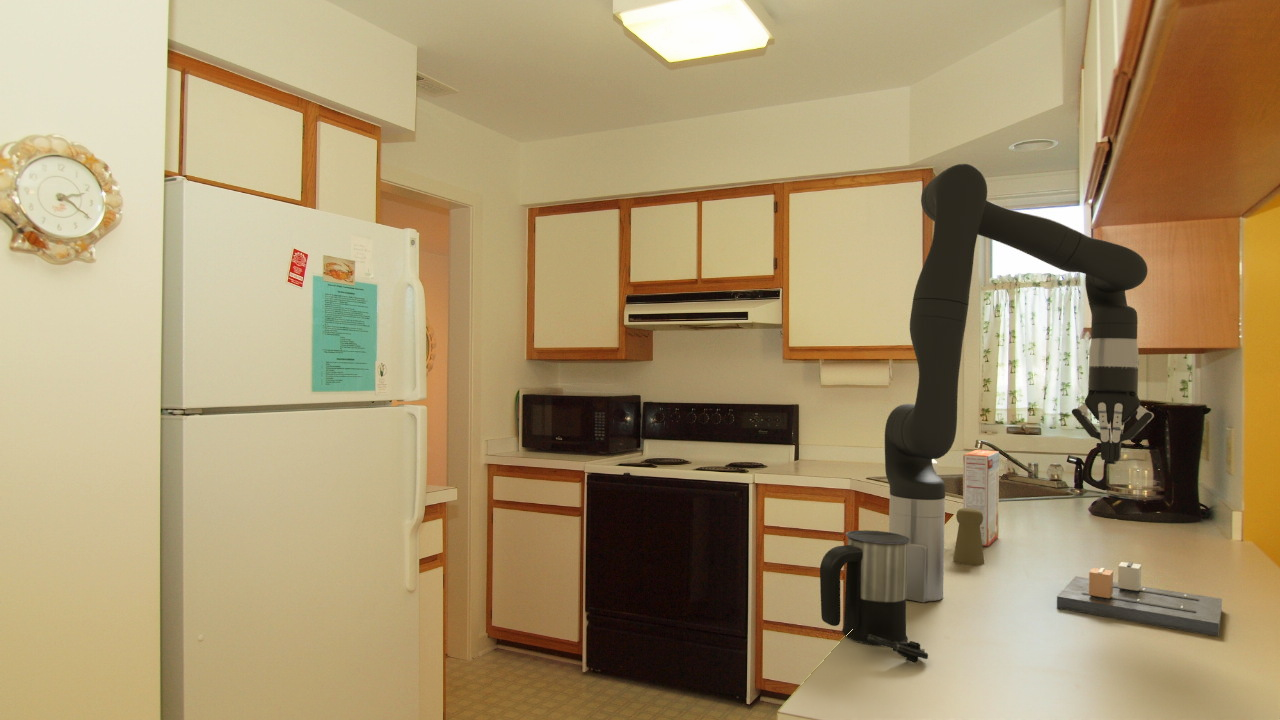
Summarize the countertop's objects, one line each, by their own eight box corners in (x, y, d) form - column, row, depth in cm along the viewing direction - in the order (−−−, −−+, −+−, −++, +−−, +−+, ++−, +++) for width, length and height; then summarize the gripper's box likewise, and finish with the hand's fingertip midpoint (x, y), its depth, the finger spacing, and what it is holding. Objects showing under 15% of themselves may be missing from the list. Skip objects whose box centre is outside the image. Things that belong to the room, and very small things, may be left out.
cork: (987, 565, 165) (988, 511, 166) (956, 563, 167) (957, 510, 167) (981, 559, 171) (982, 507, 171) (950, 557, 172) (951, 505, 173)
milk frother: (866, 623, 125) (868, 526, 125) (964, 652, 113) (966, 545, 113) (808, 641, 116) (810, 537, 116) (907, 674, 104) (910, 558, 104)
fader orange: (1109, 598, 134) (1109, 573, 134) (1088, 594, 135) (1089, 570, 135) (1112, 593, 137) (1113, 569, 137) (1092, 590, 139) (1093, 566, 139)
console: (1218, 636, 122) (1218, 622, 122) (1056, 608, 136) (1057, 595, 136) (1221, 610, 137) (1221, 598, 137) (1075, 587, 150) (1075, 575, 150)
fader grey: (1138, 590, 139) (1138, 567, 139) (1118, 587, 141) (1118, 564, 141) (1140, 586, 142) (1141, 563, 142) (1121, 583, 144) (1121, 560, 144)
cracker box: (972, 534, 199) (974, 449, 199) (999, 537, 196) (1000, 450, 196) (960, 543, 187) (962, 453, 187) (988, 547, 184) (990, 455, 184)
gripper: (1066, 363, 144) (1064, 461, 144) (1154, 365, 136) (1152, 468, 136) (1075, 365, 150) (1073, 458, 150) (1160, 366, 142) (1157, 465, 141)
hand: (1110, 463), depth 143 cm, fingers closed
